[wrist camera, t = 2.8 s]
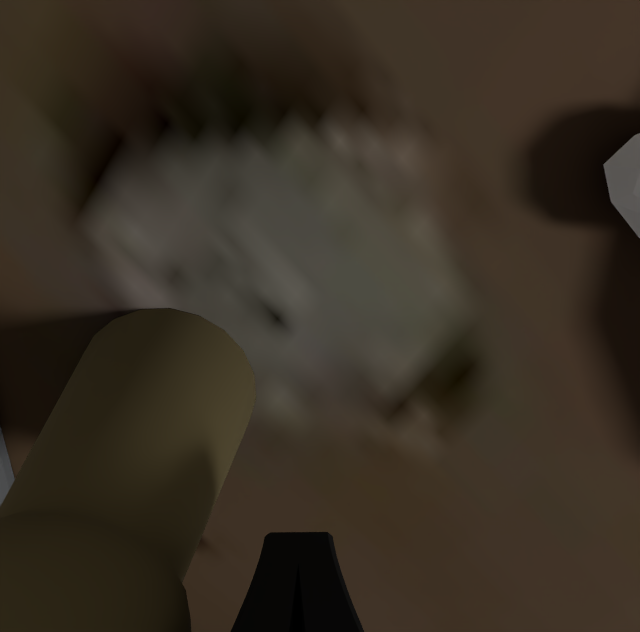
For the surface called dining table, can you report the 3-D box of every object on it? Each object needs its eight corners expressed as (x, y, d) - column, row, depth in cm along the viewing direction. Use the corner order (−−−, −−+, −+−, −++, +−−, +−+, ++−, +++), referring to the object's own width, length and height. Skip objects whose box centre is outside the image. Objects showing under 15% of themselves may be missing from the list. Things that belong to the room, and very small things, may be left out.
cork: (184, 487, 19) (50, 915, 9) (43, 394, 18) (-313, 790, 7) (292, 384, 18) (275, 761, 8) (149, 270, 16) (-120, 559, 6)
